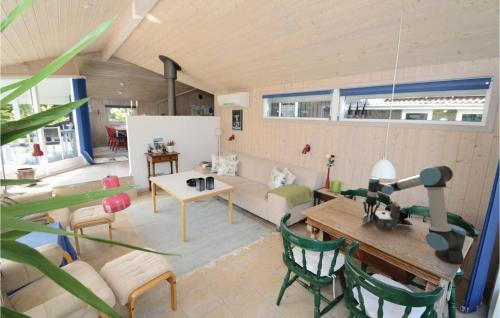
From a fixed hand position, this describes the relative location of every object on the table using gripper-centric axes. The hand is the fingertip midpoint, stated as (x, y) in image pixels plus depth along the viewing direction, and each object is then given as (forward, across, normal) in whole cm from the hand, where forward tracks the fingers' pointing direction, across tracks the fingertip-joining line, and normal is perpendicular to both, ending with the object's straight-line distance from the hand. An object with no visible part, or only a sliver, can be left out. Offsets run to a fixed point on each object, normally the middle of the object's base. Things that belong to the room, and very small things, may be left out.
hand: (368, 220), depth 207 cm
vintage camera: (+4, -22, -17) cm, 28 cm away
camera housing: (+3, -9, -7) cm, 12 cm away
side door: (+4, +3, -4) cm, 6 cm away
